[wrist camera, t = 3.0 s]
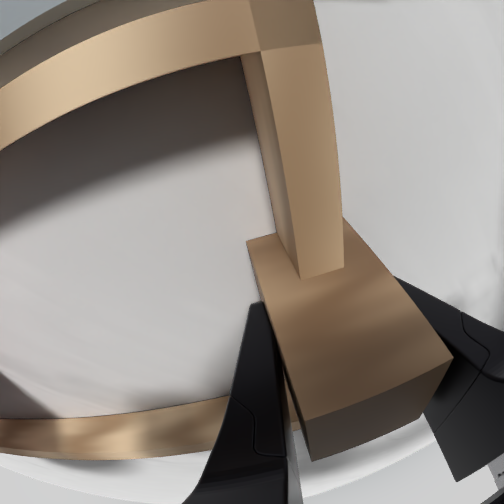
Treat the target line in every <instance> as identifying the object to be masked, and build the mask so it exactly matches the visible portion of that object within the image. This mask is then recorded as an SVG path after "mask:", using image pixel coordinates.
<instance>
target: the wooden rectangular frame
mask: <svg viewBox="0 0 504 504" xmlns="http://www.w3.org/2000/svg"><path fill="white" fill-rule="evenodd" d="M237 56H240V57H241V62H242V66H243V71H244V75H245V79H246V84H247V88H248V93H249V97H250V102H251V107H252V111H253V116H254V121H255V125H256V130H257V135H258V140H259V144H260V149H261V154H262V159H263V164H264V169H265V174H266V179H267V184H268V189H269V194H270V199H271V204H272V209H273V215H274V220H275V225H276V230H277V233H274V234H270V235H266V236H263V237H259V238H255V239H252V240H248V241H246V243H247V247H248V251H249V255H250V259H251V263H252V267H253V270H254V274H255V278H256V282H257V286H258V290H259V294H260V298H261V301H263V302H264V304H265V307H266V310H267V313H268V316H269V319H270V322H271V325H272V328H273V331H274V335H275V339H276V343H277V348H278V352H279V356H280V360H281V364H282V368H283V373H284V376H285V380H286V381H285V386H286V393H287V399H288V406H289V412H290V418H291V425H292V431H296V430H299V429H301V430H302V433H303V436H304V440H305V443H306V446H307V449H308V452H309V455H310V458H311V461H312V462H313V461H316V460H319V459H322V458H325V457H328V456H331V455H334V454H337V453H340V452H343V451H345V450H348V449H351V448H353V447H356V446H359V445H361V444H364V443H366V442H369V441H371V440H374V439H376V438H378V437H381V436H383V435H385V434H387V433H390V432H392V431H394V430H396V429H398V428H401V427H403V426H405V425H407V424H409V423H411V422H413V421H415V420H417V419H419V417H420V416H421V414H422V413H423V411H424V410H425V408H426V406H427V405H428V403H429V401H430V400H431V398H432V396H433V395H434V393H435V391H436V390H437V388H438V386H439V384H440V382H441V381H442V379H443V377H444V375H445V373H446V371H447V370H448V368H449V366H450V364H451V362H452V360H453V358H454V357H453V356H452V354H451V353H450V351H449V350H448V349H447V347H446V346H445V344H444V343H443V341H442V340H441V339H440V337H439V336H438V334H437V333H436V332H435V330H434V329H433V327H432V326H431V325H430V323H429V322H428V321H427V319H426V318H425V317H424V315H423V314H422V313H421V311H420V310H419V309H418V307H417V306H416V305H415V303H414V302H413V301H412V299H411V298H410V297H409V295H408V294H407V293H406V292H405V290H404V289H403V288H402V286H401V285H400V284H399V283H398V281H397V280H396V279H395V278H394V276H393V275H392V274H391V273H390V271H389V270H388V269H387V268H386V267H385V265H384V264H383V263H382V262H381V261H380V259H379V258H378V257H377V256H376V255H375V253H374V252H373V251H372V250H371V249H370V247H369V246H368V245H367V244H366V243H365V242H364V240H363V239H362V238H361V237H360V236H359V235H358V233H357V232H356V231H355V230H354V229H353V228H352V227H351V225H350V224H349V223H348V222H347V221H346V220H345V219H344V218H343V217H342V203H341V189H340V176H339V164H338V153H337V144H336V134H335V126H334V117H333V110H332V102H331V95H330V88H329V81H328V75H327V69H326V63H325V57H324V51H323V46H322V41H321V35H320V30H319V25H318V20H317V16H316V11H315V7H314V2H313V0H207V1H202V2H197V3H193V4H189V5H185V6H181V7H177V8H173V9H170V10H166V11H163V12H159V13H156V14H153V15H150V16H147V17H144V18H141V19H138V20H135V21H132V22H129V23H126V24H124V25H121V26H118V27H116V28H113V29H111V30H108V31H106V32H103V33H101V34H99V35H96V36H94V37H92V38H89V39H87V40H85V41H83V42H81V43H79V44H76V45H74V46H72V47H70V48H68V49H66V50H64V51H62V52H60V53H58V54H57V55H55V56H53V57H51V58H49V59H47V60H46V61H44V62H42V63H40V64H38V65H37V66H35V67H33V68H32V69H30V70H28V71H27V72H25V73H23V74H22V75H20V76H19V77H17V78H16V79H14V80H13V81H11V82H9V83H8V84H6V85H5V86H4V87H2V88H1V89H0V151H1V150H3V149H4V148H6V147H7V146H9V145H11V144H12V143H14V142H15V141H17V140H19V139H20V138H22V137H24V136H26V135H27V134H29V133H31V132H33V131H34V130H36V129H38V128H40V127H42V126H44V125H46V124H47V123H49V122H51V121H53V120H55V119H57V118H59V117H61V116H63V115H65V114H67V113H69V112H71V111H73V110H76V109H78V108H80V107H82V106H84V105H87V104H89V103H91V102H93V101H96V100H98V99H100V98H103V97H105V96H108V95H110V94H113V93H115V92H118V91H120V90H123V89H126V88H128V87H131V86H134V85H136V84H139V83H142V82H145V81H148V80H151V79H154V78H157V77H160V76H163V75H166V74H170V73H173V72H176V71H180V70H183V69H187V68H191V67H194V66H198V65H202V64H206V63H210V62H214V61H219V60H223V59H227V58H232V57H237ZM229 397H230V395H228V396H224V397H220V398H215V399H210V400H206V401H201V402H196V403H191V404H185V405H180V406H174V407H168V408H162V409H156V410H149V411H142V412H134V413H126V414H118V415H108V416H97V417H84V418H68V419H0V453H6V454H13V455H20V456H28V457H38V458H50V459H67V460H123V459H140V458H153V457H164V456H173V455H181V454H188V453H195V452H202V451H208V450H212V449H213V446H214V444H215V441H216V439H217V436H218V433H219V430H220V428H221V425H222V422H223V418H224V414H225V411H226V407H227V403H228V399H229Z"/></svg>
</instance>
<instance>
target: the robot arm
mask: <svg viewBox="0 0 504 504" xmlns="http://www.w3.org/2000/svg"><path fill="white" fill-rule="evenodd" d="M394 278H395V279H396V280H397V281H398V283H399V284H400V285H401V286H402V288H403V289H404V290H405V292H406V293H407V294H408V295H409V297H410V298H411V299H412V301H413V302H414V303H415V305H416V306H417V307H418V309H419V310H420V311H421V313H422V314H423V315H424V317H425V318H426V319H427V321H428V322H429V323H430V325H431V326H432V327H433V329H434V330H435V332H436V333H437V334H438V336H439V337H440V339H441V340H442V341H443V343H444V344H445V346H446V347H447V349H448V350H449V351H450V353H451V354H452V356H453V357H454V358H453V360H452V362H451V364H450V366H449V368H448V370H447V371H446V373H445V375H444V377H443V379H442V381H441V382H440V384H439V386H438V388H437V390H436V391H435V393H434V395H433V396H432V398H431V400H430V401H429V403H428V405H427V406H426V408H425V410H424V411H423V413H424V415H425V417H426V419H427V421H428V423H429V425H430V427H431V429H432V431H433V433H434V436H435V438H436V440H437V442H438V444H439V446H440V448H441V451H442V453H443V455H444V457H445V459H446V461H447V463H448V465H449V468H450V470H451V472H452V475H453V477H454V479H455V481H456V482H458V481H460V480H462V479H463V478H465V477H467V476H469V475H471V474H472V473H474V472H475V471H477V470H479V469H481V468H482V467H484V466H485V465H487V464H488V466H489V468H490V471H491V473H492V475H493V477H494V479H495V483H496V485H497V487H498V489H499V491H497V492H496V493H495V494H493V495H492V496H491V497H489V498H488V499H487V500H485V501H484V502H482V503H481V504H504V332H503V331H501V330H498V329H496V328H494V327H492V326H490V325H487V324H485V323H483V322H481V321H479V320H477V319H475V318H473V317H471V316H470V315H468V314H466V313H464V312H460V310H458V309H456V308H455V307H453V306H451V305H449V304H447V303H445V302H443V301H441V300H440V299H438V298H436V297H434V296H432V295H430V294H428V293H426V292H424V291H422V290H420V289H419V288H417V287H415V286H413V285H411V284H409V283H407V282H405V281H403V280H401V279H399V278H397V277H395V276H394ZM300 487H301V485H300V478H299V472H298V465H297V458H296V451H295V445H294V438H293V432H292V425H291V418H290V412H289V406H288V399H287V393H286V386H285V380H284V374H283V368H282V364H281V360H280V356H279V352H278V348H277V343H276V339H275V335H274V331H273V328H272V325H271V322H270V319H269V316H268V313H267V310H266V307H265V304H264V302H263V301H260V302H256V303H253V304H251V305H250V308H249V312H248V317H247V321H246V325H245V330H244V334H243V339H242V343H241V347H240V352H239V356H238V360H237V365H236V369H235V373H234V378H233V382H232V386H231V391H230V397H229V399H228V403H227V407H226V411H225V414H224V418H223V422H222V425H221V428H220V430H219V433H218V436H217V439H216V441H215V444H214V446H213V449H212V451H211V454H210V456H209V459H208V461H207V464H206V466H205V469H204V471H203V473H202V476H201V478H200V480H199V482H198V484H197V486H196V487H195V489H194V490H193V492H192V493H191V494H190V495H189V497H188V498H187V499H186V500H185V501H184V502H183V503H182V504H303V499H302V492H301V488H300Z"/></svg>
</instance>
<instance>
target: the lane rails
mask: <svg viewBox="0 0 504 504" xmlns="http://www.w3.org/2000/svg"><path fill="white" fill-rule="evenodd" d="M98 1H100V0H0V56H1V55H2V54H3V53H5V52H6V51H8V50H9V49H11V48H12V47H14V46H15V45H17V44H18V43H20V42H21V41H23V40H25V39H26V38H28V37H30V36H31V35H33V34H35V33H36V32H38V31H40V30H41V29H43V28H45V27H47V26H48V25H50V24H52V23H54V22H56V21H58V20H60V19H62V18H63V17H65V16H67V15H69V14H71V13H74V12H76V11H78V10H80V9H82V8H84V7H86V6H89V5H91V4H93V3H95V2H98Z"/></svg>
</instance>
